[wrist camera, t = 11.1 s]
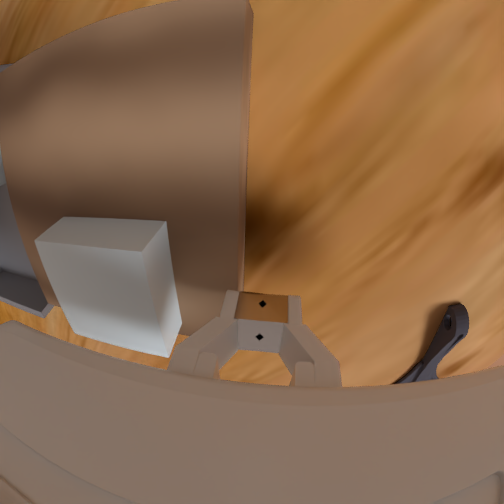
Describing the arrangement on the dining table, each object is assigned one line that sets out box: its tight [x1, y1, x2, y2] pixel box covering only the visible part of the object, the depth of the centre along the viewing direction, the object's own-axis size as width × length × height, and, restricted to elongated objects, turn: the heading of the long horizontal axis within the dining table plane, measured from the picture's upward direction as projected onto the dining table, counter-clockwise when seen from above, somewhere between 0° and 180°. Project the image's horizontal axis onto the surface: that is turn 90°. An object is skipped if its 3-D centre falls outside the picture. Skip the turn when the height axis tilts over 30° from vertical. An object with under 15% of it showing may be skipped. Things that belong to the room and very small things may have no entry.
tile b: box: [34, 217, 182, 358], centre depth 12 cm, size 6×6×2 cm
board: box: [0, 0, 253, 336], centre depth 12 cm, size 16×14×2 cm
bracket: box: [395, 304, 469, 384], centre depth 18 cm, size 14×15×3 cm
